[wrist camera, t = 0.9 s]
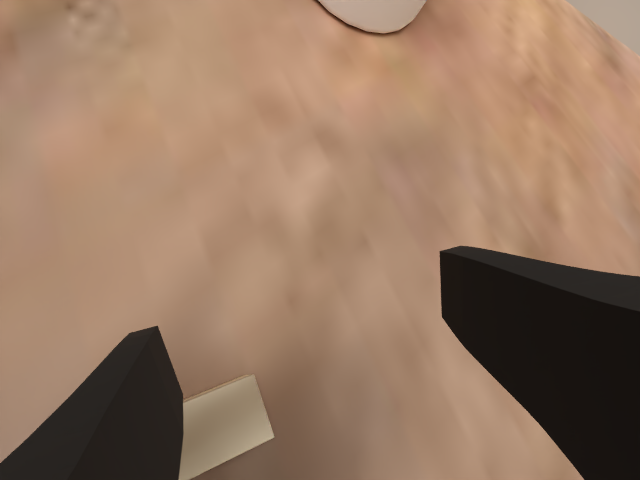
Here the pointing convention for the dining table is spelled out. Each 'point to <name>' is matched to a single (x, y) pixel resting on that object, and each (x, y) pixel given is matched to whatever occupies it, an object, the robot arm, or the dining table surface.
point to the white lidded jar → (375, 13)
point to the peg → (222, 425)
